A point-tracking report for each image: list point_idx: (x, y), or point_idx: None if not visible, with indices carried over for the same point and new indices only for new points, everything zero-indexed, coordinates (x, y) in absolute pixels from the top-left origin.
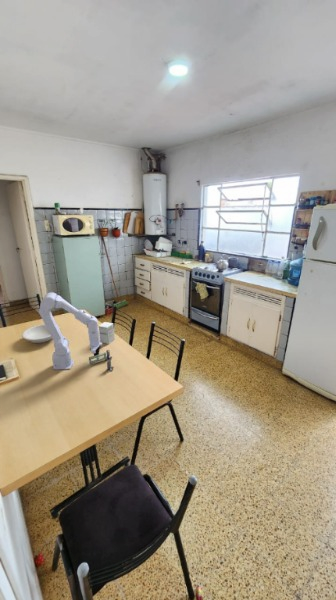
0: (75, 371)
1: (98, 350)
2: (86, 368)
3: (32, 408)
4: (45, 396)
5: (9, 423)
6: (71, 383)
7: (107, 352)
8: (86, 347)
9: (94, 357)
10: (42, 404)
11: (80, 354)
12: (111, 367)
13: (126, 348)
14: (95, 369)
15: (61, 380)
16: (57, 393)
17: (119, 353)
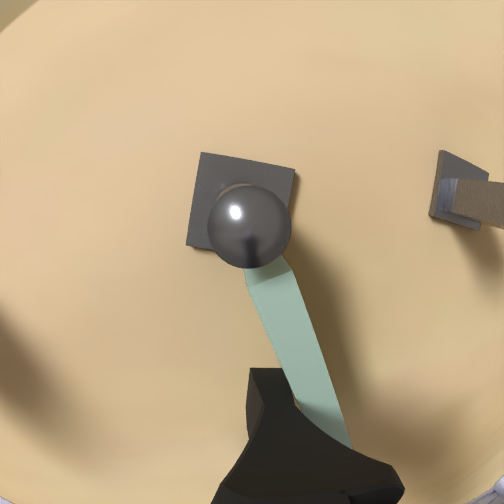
0: None
1: (359, 463)
2: (364, 420)
3: (490, 472)
4: (469, 476)
5: (497, 480)
6: (464, 437)
7: (283, 234)
8: (15, 425)
9: (344, 427)
10: (496, 460)
11: (117, 472)
12: (453, 177)
13: (52, 3)
14: (415, 345)
15: (411, 485)
16: (483, 452)
17: (130, 56)
